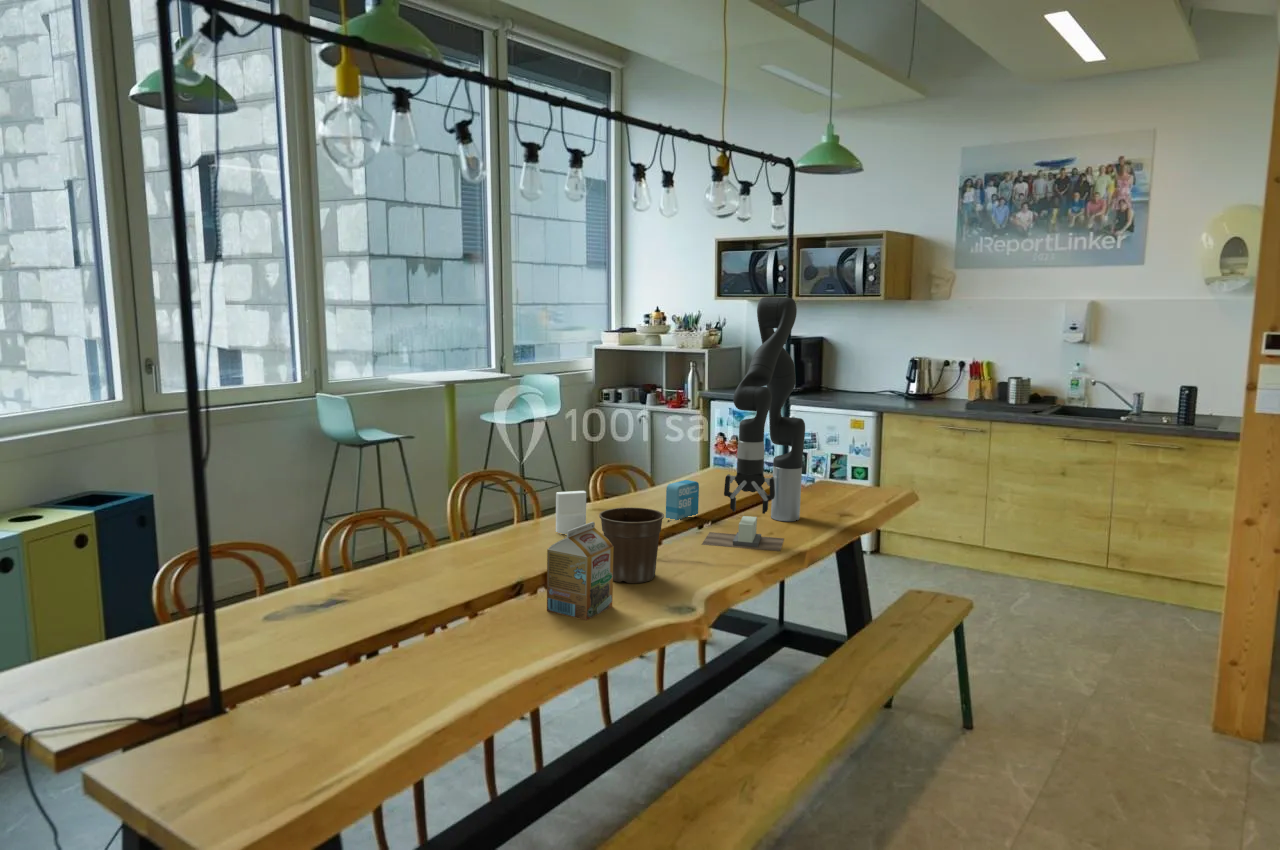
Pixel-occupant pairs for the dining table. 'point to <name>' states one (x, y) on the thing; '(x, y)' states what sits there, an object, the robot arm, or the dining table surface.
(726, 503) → the dining table surface
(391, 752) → the dining table surface
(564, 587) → the milk carton
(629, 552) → the plant pot
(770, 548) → the walnut board
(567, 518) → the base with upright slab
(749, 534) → the sanding block
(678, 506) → the data package
